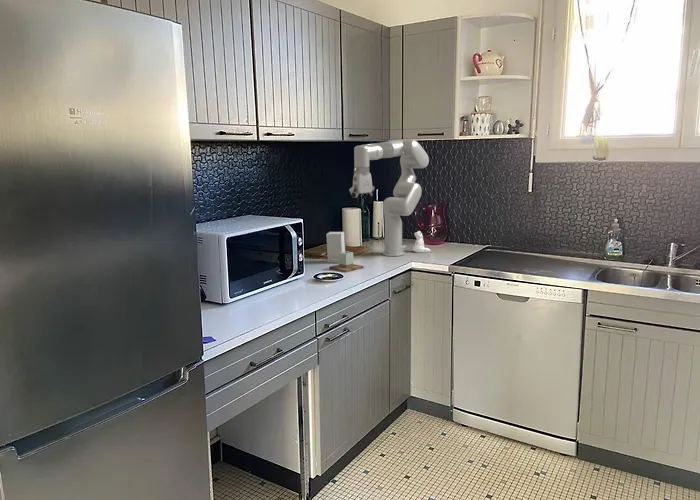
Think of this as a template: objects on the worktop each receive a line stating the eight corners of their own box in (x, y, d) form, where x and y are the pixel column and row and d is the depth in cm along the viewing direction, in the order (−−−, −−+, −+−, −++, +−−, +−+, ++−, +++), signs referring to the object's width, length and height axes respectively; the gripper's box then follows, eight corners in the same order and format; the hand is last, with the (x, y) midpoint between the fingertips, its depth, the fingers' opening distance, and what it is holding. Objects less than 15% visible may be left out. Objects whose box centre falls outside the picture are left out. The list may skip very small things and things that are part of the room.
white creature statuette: (431, 252, 300) (431, 231, 298) (417, 254, 297) (417, 232, 295) (422, 249, 309) (423, 229, 307) (409, 251, 306) (409, 230, 304)
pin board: (346, 264, 275) (346, 254, 274) (363, 268, 266) (363, 257, 265) (329, 268, 267) (329, 257, 266) (346, 272, 258) (345, 261, 257)
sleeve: (353, 266, 266) (353, 252, 265) (346, 268, 263) (346, 254, 261) (346, 264, 270) (346, 251, 268) (339, 266, 266) (339, 252, 265)
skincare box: (345, 260, 284) (345, 231, 281) (342, 263, 278) (341, 233, 275) (330, 260, 286) (329, 231, 283) (326, 262, 280) (326, 233, 277)
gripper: (354, 171, 261) (355, 206, 264) (379, 169, 273) (379, 203, 276) (344, 171, 266) (345, 205, 270) (368, 169, 278) (368, 202, 281)
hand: (362, 204), depth 273 cm, fingers open, 9 cm apart
